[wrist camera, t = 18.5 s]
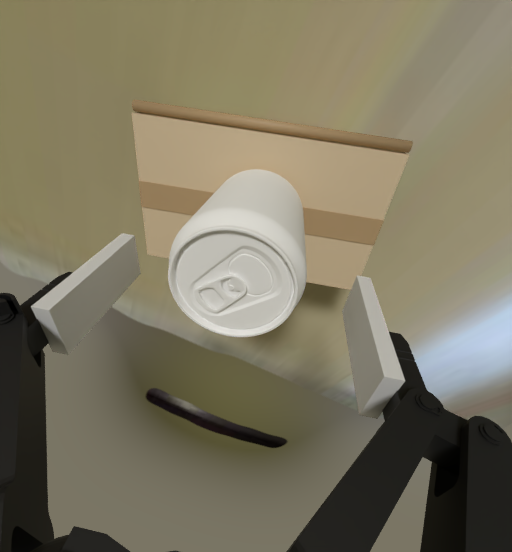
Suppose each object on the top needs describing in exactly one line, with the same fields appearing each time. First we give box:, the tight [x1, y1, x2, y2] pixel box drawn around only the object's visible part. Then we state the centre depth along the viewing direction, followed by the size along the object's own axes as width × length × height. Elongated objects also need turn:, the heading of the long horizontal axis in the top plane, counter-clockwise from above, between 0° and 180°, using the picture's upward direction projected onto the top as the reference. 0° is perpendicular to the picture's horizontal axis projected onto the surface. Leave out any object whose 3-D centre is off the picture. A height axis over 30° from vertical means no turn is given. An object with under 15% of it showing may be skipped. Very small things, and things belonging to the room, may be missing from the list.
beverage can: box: [168, 169, 307, 337], centre depth 20 cm, size 8×8×12 cm
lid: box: [132, 100, 413, 290], centre depth 25 cm, size 14×22×1 cm, turn 83°
